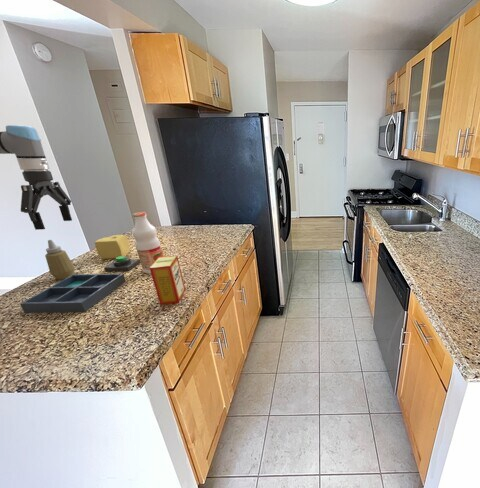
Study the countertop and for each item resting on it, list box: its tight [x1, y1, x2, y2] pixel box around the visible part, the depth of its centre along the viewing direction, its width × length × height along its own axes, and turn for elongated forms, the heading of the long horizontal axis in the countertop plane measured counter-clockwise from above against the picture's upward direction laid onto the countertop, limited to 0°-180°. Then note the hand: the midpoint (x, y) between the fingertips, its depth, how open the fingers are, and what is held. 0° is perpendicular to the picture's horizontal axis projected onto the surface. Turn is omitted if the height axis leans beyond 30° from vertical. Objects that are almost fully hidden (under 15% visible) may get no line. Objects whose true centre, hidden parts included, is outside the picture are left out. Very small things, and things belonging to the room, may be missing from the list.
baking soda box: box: [150, 255, 186, 306], centre depth 100 cm, size 10×6×16 cm
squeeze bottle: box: [44, 239, 75, 281], centre depth 115 cm, size 8×8×18 cm
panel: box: [103, 256, 141, 273], centre depth 126 cm, size 11×9×4 cm
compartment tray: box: [19, 273, 127, 314], centre depth 103 cm, size 22×22×4 cm
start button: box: [115, 255, 126, 262], centre depth 125 cm, size 4×4×2 cm
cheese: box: [94, 234, 132, 260], centre depth 139 cm, size 10×11×10 cm
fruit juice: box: [131, 211, 165, 275], centre depth 119 cm, size 9×9×28 cm
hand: (55, 224), depth 105 cm, fingers open, 13 cm apart
